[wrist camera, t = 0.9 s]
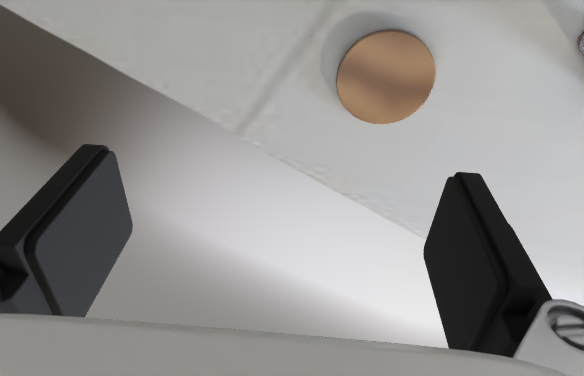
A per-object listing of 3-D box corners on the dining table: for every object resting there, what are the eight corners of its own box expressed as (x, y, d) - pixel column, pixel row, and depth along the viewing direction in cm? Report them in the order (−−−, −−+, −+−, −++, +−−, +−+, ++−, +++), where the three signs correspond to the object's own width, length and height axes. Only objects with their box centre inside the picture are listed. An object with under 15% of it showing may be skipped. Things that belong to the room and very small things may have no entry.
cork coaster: (345, 24, 39) (345, 25, 39) (447, 35, 39) (448, 37, 39) (330, 116, 45) (330, 119, 45) (418, 126, 45) (419, 129, 45)
